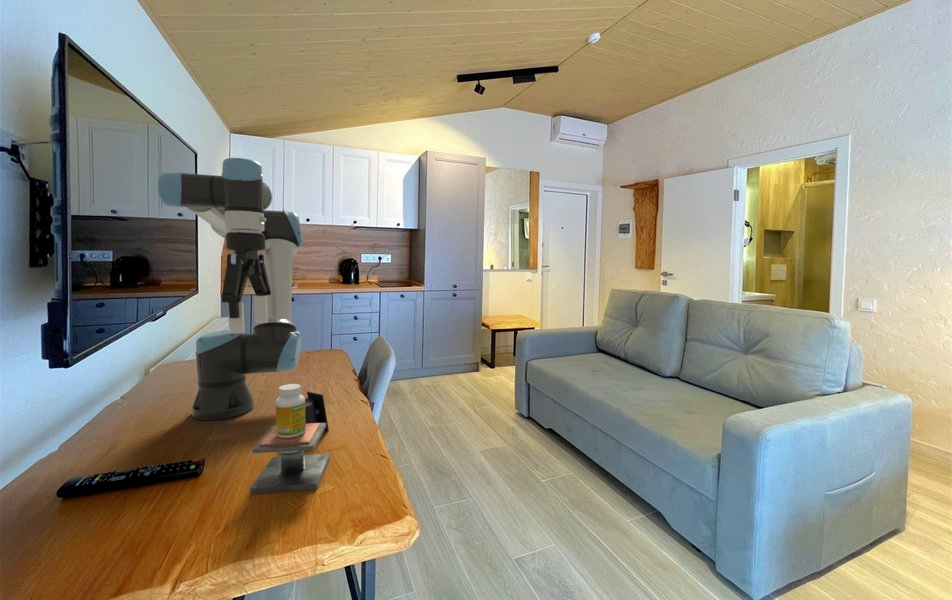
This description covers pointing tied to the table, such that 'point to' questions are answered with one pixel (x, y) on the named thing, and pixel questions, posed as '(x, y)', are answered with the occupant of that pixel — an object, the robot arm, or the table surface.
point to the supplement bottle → (290, 411)
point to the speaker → (315, 409)
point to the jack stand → (291, 461)
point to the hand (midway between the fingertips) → (250, 327)
